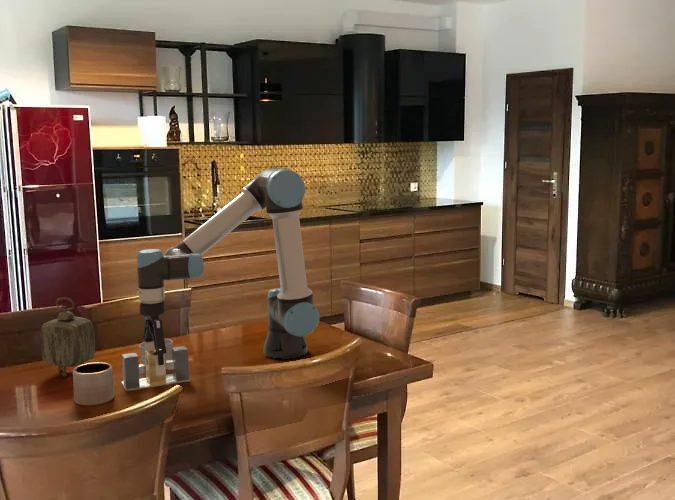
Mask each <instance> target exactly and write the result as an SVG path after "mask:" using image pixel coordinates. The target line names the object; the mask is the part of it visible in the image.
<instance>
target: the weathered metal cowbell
mask: <svg viewBox="0 0 675 500" xmlns="http://www.w3.org/2000/svg"><path fill="white" fill-rule="evenodd" d="M60 300H66V301H68V302H70V303H71V304H72V307H70V308H68V307H67V306H66V305H64V306H63V307H60V306H59V305H58V302H59V301H60ZM55 307H57V309H59V310H61V312H59V313H58V315H57V318H55V319H52V320H49V321H46V322H44V323H43V324H42V326H41V327H40V334H39V336H40V337H39V339H40V340H39V342H40V344H39V345H40V351H41V357H42V360H43V362H44V363H46V364H48V365H52V366H57V369H58V370H59V371H61V370H63V371H62V372H61V375H62V377H67V375H68V372H67V368H75V367H77V366H79V365H82V364H85V363H86V362H89V361H90V360H93V359H94V357H95V353H96V352H95V351H96V338H95V332H94V331H95V328H94V325H93V323H92V322H91V320H89V319H88V318H85V317H81V316H75V315H74V313H73V312H71V311H72V310H73V309H74V307H75V302H74V301H73V300H72V298H69V297H66V296H64V297H62V296H61V297H59V298H57V299H56V300H55Z"/></svg>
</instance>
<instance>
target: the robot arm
mask: <svg viewBox="0 0 675 500" xmlns="http://www.w3.org/2000/svg"><path fill="white" fill-rule="evenodd" d="M241 191H242V192H241V193H240V194H239V195H237V196H236V197H235V198H234V199H233V200H231V201H229V203H227V204H226V205H225V206H223V208H221V209H220V210H219V211H217V212H216V213H215V214H214V215H213V216H212V217H210V218H209V219H207V220H206V222H204V223H203V224H201V225H200V226H198V228H197V229H195V230H194V231H193V232H192V233H190V234H189V235H188V236H187V237H185V238H184V239H183V240H181V242H179V243H178V244H177V245H175V246H172V247H170V248H168V249H167V250H166V251H165V252H164V254H163V251H162V249H160V248H159V249H158V248H157V249H156V248H149V249H142V250H140V251H138V252H137V254H136V270H137V283H138V284H137V287H138V291H137V292H136V294H137V295H138V300H139V305H138V306H139V314H140V315H141V316H143V317H144V318H143V321H144V322H143V336H142V338H143V339H144V340H143V341H144V342H145V349H146V351H151V350H155V351H156V352H154V355H155V366H156V376H159V375H165V374H166V375H167V370H166V371H165V353H166V352H167V351H166V346H165V340H164V338H165V335H164V328H163V320H162V319H160V315H163V314H165V313H166V302H165V299H166V293H165V292H166V291H165V281H174V280H175V281H176V280H189V279H191V280H192V279H196V278H198V279H199V278H202V277H203V275H204V273H205V271H204V270H205V266H204V259H203V255H205V253H206V252H208V251H209V250H210V249H211V248H213V247H214V246H215V245H216V244H217V243H219V242H220V241H222V239H224V238H225V237H226V236H227V235H228V234H230V233H231V232H233V230H234V229H236V228H237V227H238V226H240V225H241V224H242V223H244V221H246V220H247V219H248V218H250V217H251V216H252V215H253V214H254V213H255V212H257V211H259V212H262V211H263V210H264V209H265V210H266V214H267V215H268V216H269V217H270V218H271V219H272V229H273V235H274V237H273V238H274V244H275V252H276V260H277V268H278V276H279V284H280V287H277V288H271V289H269V290H268V292H267V297H266V300H267V323H268V326H267V327H268V329H267V330H268V332H267V335H266V339H265V340H264V341H265V342H264V345H263V355H264V356H265V355H266V356H265V357H267V356H268V357H267V358H270V357H273V358H272V359H275V358H282V359H281V360H289V359H290V358H292V359H298V358H301V357H300V356H302V357H304V356H306V355H307V354H308V345H307V342H306V338H305V336H308V335H310V334H312V333H313V332H314V331H315V330H316V328H317V327H318V325H319V323H320V313H319V310H318V308H317V306H316V305H315V303H314V302H315V301H314V293H313V290H312V289H311V288H310V287H308V283H307V282H308V281H307V275H306V266H305V255H304V246H303V240H302V239H303V238H302V231H301V229H302V228H301V223H300V215H301V213H302V212H303V210H304V206H303V199H304V197H305V194H306V185H305V182H304V180H303V178H302V177H301V176H300V174H298V173H297V172H296V171H294V170H292V169H290V168H284V167H283V168H281V167H269V168H266V169H265V170H263V171H261V172H260V173H258V175H257V176H255V177H254V178H253V179H252V180H250V182H249V183H247V184H245V186H244V187H243V188H242V189H241ZM152 341H153V342H152ZM160 349H162V350H160ZM306 353H307V354H306ZM305 354H306V355H305ZM303 355H304V356H303ZM297 357H298V358H297ZM290 360H291V359H290Z"/></svg>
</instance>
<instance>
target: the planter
mask: <svg viewBox="0 0 675 500" xmlns="http://www.w3.org/2000/svg"><path fill="white" fill-rule="evenodd" d="M72 382H73V400H74V402H75V404H77V405H79V406H83V405H84V407H94V406H95V405H96V406H100V405H104V404H107V403H109V402H110V401H112V400H113V398H114V397H115V389H114V388H115V386H114V374H113V365H112V364H110V363H109V362H102V361H99V362H98V361H97V362H88V363H86V362H85V363H84V364H82V365H78V366H75V367H73V369H72ZM96 406H95V407H96Z"/></svg>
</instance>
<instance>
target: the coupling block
mask: <svg viewBox="0 0 675 500" xmlns="http://www.w3.org/2000/svg"><path fill="white" fill-rule="evenodd" d="M160 350H162V349H160ZM154 352H156V351H155V350H151V351H145V378H146V380H147V381H148V383H149V384H155V383H162V382H166V375H167V373H166V374H165V375H159V376H156V366H155V355H154ZM165 371H166V372H167V369H166V365H165Z"/></svg>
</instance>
